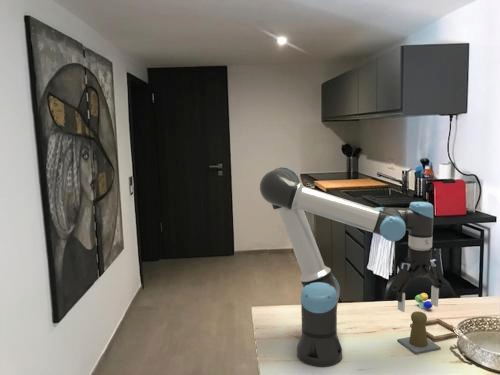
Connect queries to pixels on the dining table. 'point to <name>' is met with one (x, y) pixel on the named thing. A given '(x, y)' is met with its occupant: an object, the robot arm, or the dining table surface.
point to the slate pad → (418, 350)
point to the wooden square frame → (440, 337)
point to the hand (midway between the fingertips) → (417, 307)
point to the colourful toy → (422, 298)
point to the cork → (418, 329)
